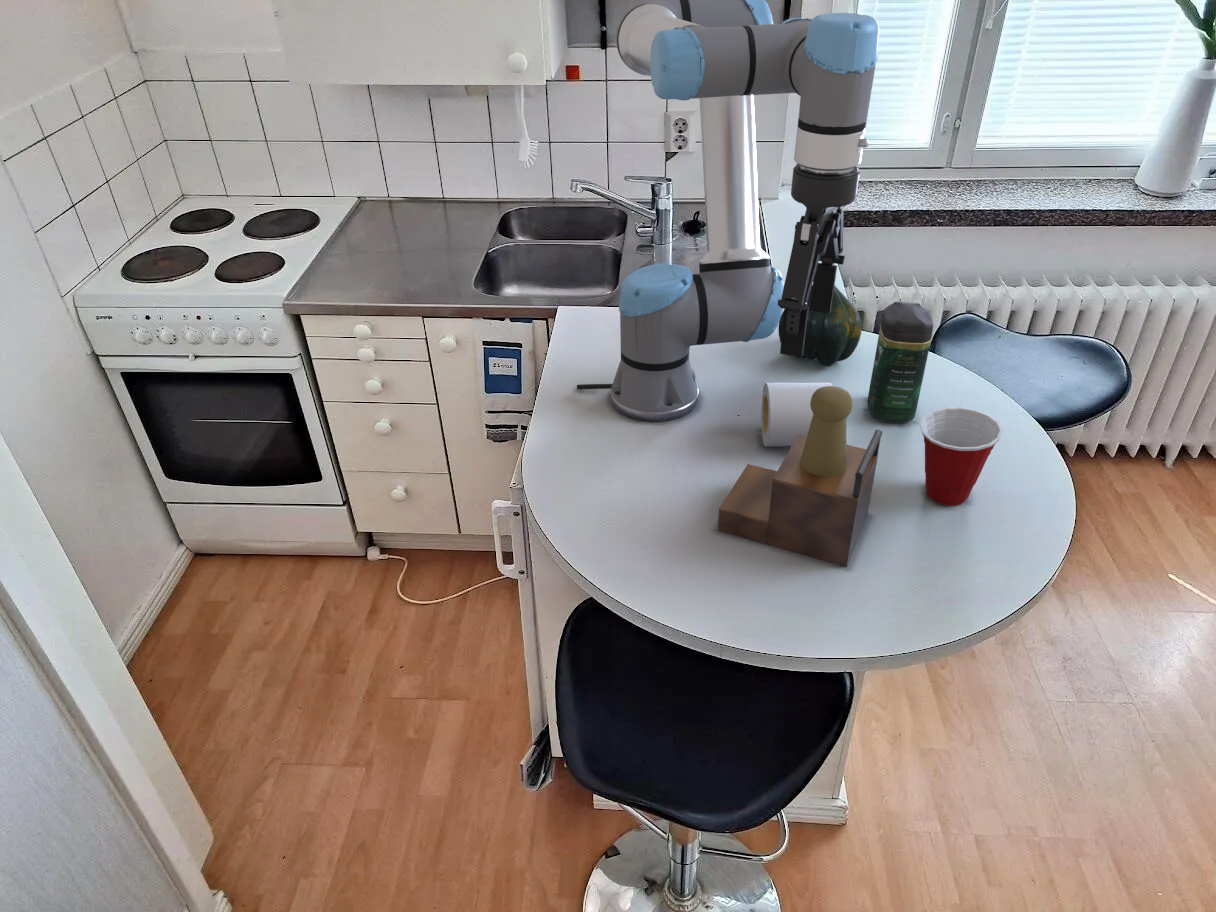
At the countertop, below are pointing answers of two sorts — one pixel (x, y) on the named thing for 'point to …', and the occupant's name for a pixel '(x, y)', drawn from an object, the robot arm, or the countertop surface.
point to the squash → (830, 331)
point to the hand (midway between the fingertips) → (806, 332)
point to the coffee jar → (899, 362)
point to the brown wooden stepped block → (803, 504)
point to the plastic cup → (956, 451)
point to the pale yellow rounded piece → (827, 432)
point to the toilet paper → (786, 411)
